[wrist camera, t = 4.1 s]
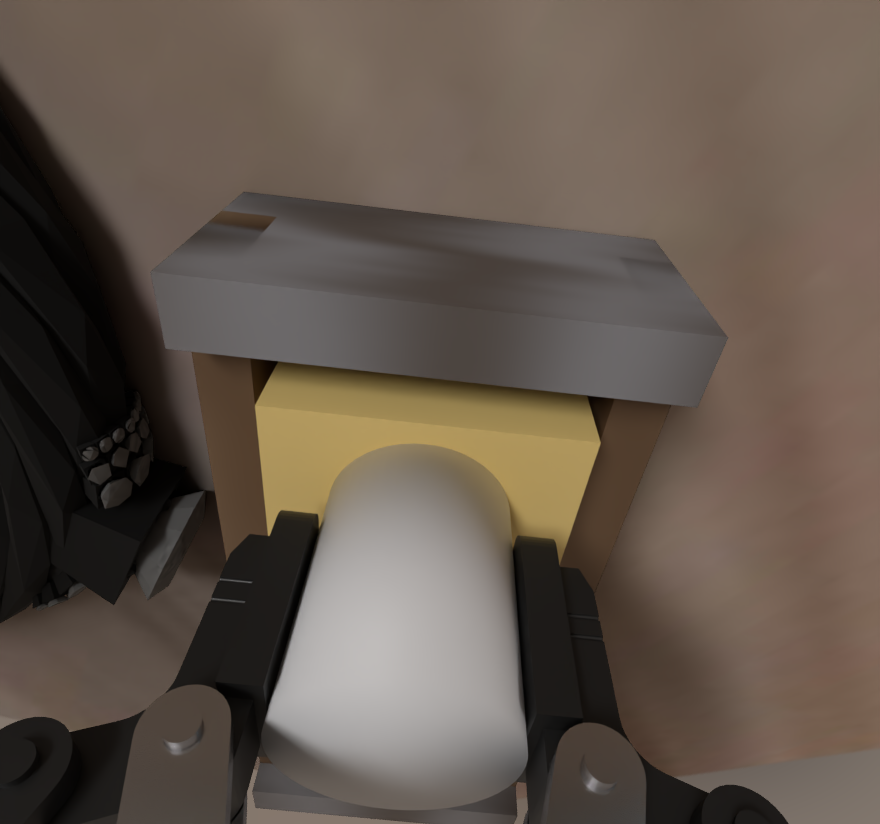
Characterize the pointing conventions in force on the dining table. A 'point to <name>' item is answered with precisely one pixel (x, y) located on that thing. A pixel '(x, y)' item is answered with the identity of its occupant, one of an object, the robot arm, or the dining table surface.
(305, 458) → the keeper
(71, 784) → the robot arm
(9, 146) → the cable lock
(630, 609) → the dining table surface
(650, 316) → the wooden tray
